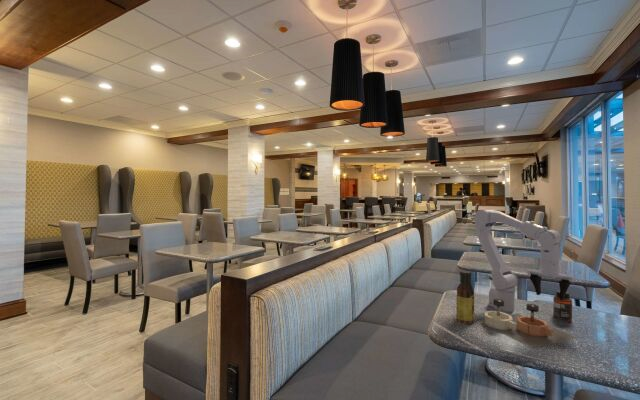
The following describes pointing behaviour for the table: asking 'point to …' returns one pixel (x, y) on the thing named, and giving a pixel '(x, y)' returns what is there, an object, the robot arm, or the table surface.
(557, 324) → the table surface
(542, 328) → the terracotta pot
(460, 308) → the sauce bottle
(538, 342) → the slate board
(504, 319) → the cream pot
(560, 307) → the supplement bottle
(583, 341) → the table surface
